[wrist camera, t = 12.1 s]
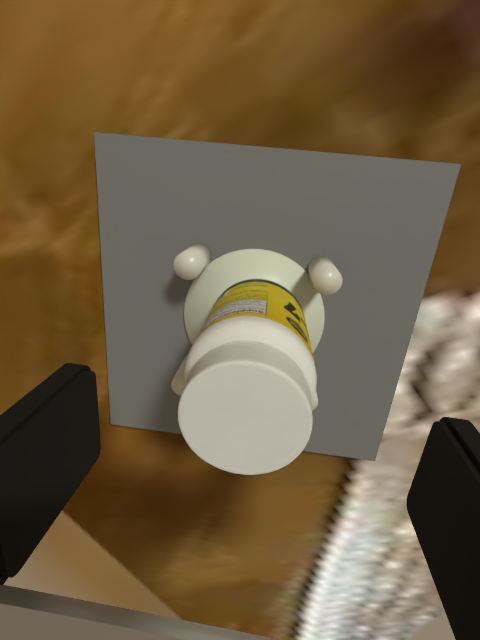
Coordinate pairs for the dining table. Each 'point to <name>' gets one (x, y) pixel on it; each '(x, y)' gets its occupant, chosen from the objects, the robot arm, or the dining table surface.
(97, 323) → the dining table surface
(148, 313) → the pin tray
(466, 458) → the robot arm
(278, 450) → the supplement bottle
